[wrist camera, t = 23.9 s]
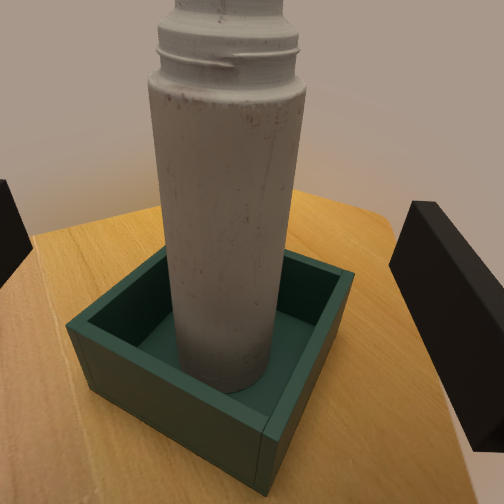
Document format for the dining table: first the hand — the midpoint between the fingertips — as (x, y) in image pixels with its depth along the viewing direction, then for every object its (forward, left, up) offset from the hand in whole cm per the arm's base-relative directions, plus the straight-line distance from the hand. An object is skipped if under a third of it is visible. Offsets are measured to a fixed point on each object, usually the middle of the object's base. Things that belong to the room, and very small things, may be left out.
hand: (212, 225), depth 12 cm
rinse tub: (+4, -8, -21) cm, 23 cm away
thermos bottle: (+4, -8, -20) cm, 22 cm away
